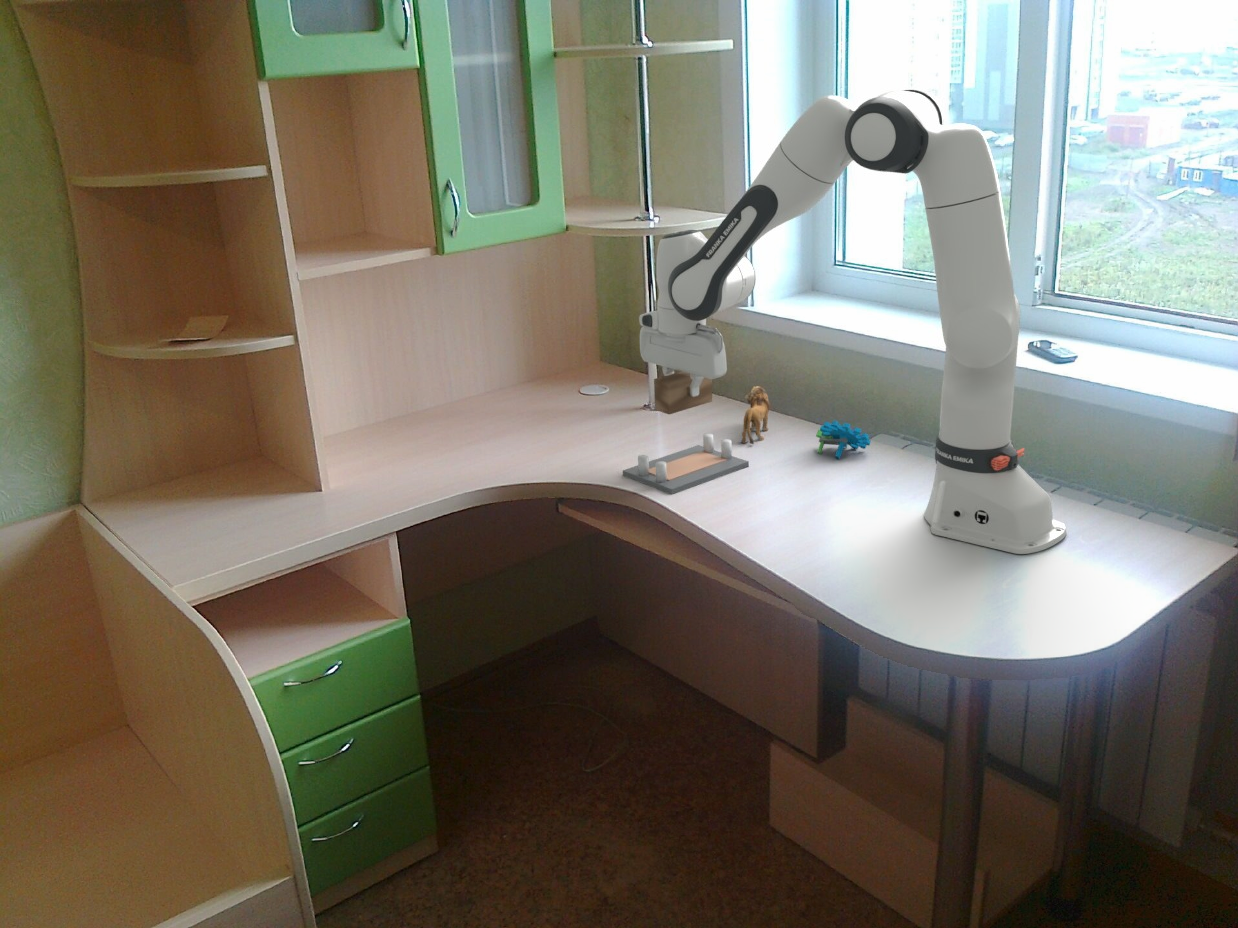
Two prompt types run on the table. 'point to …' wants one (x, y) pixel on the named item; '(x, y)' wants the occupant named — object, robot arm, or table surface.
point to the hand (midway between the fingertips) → (683, 392)
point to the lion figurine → (756, 413)
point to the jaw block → (679, 393)
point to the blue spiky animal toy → (841, 437)
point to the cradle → (687, 466)
